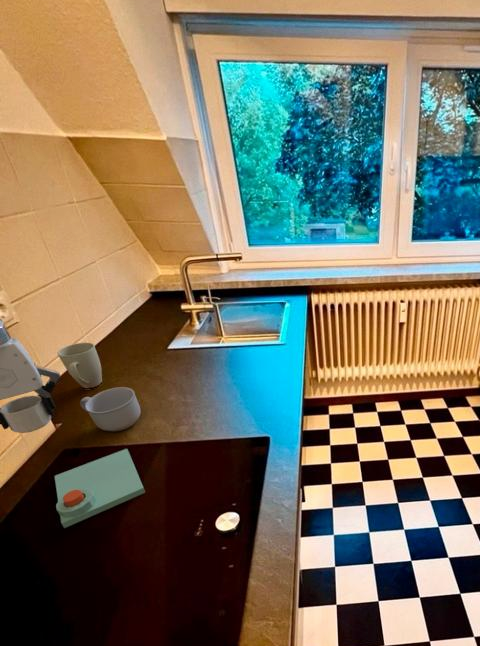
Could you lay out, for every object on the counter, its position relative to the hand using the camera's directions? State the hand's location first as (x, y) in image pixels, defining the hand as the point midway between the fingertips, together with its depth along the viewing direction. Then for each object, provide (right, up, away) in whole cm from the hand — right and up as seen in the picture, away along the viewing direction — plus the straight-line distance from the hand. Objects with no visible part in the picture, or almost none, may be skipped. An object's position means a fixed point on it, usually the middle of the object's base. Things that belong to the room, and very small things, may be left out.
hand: (29, 418), depth 79 cm
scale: (+14, -14, +1) cm, 20 cm away
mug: (-12, +8, +36) cm, 39 cm away
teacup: (+5, -2, +20) cm, 21 cm away
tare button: (+14, -16, -6) cm, 22 cm away
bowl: (0, -1, +1) cm, 2 cm away
